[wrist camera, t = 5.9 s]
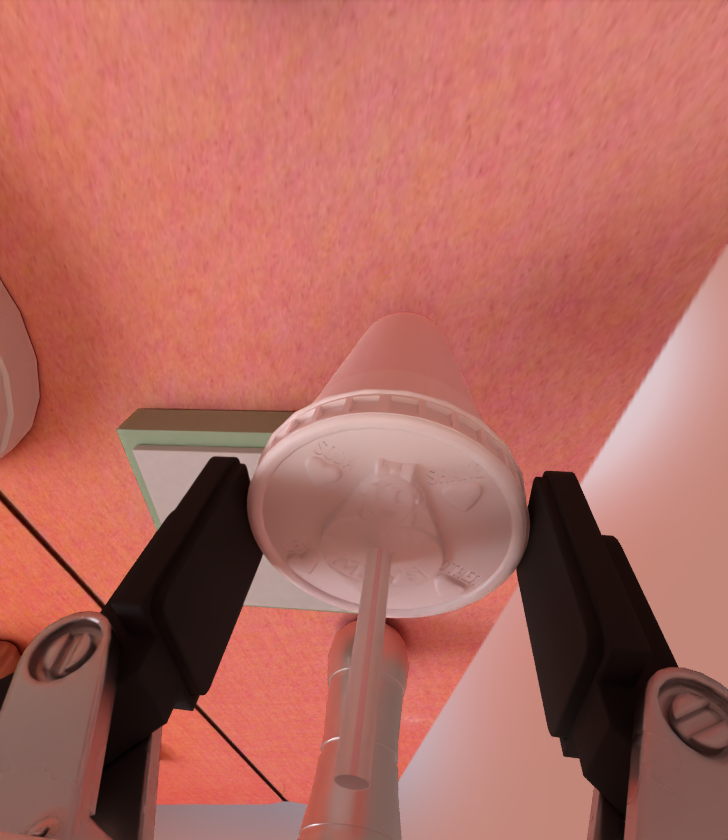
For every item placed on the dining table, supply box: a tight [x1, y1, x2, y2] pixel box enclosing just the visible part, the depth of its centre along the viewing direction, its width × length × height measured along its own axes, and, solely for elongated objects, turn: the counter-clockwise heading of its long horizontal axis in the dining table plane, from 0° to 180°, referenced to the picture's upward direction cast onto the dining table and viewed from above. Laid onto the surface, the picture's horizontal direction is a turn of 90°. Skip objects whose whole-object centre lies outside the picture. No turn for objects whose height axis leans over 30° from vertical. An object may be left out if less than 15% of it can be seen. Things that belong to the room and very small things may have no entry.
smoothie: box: [247, 312, 530, 790], centre depth 12 cm, size 6×6×14 cm
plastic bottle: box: [297, 620, 409, 840], centre depth 29 cm, size 6×7×20 cm
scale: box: [116, 409, 358, 614], centre depth 30 cm, size 16×16×3 cm
